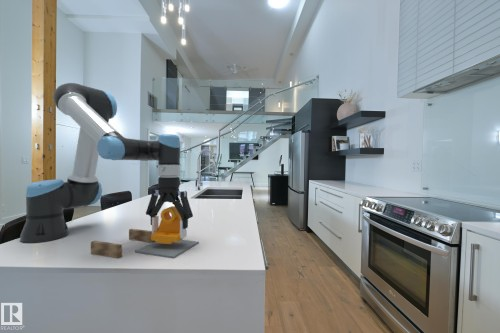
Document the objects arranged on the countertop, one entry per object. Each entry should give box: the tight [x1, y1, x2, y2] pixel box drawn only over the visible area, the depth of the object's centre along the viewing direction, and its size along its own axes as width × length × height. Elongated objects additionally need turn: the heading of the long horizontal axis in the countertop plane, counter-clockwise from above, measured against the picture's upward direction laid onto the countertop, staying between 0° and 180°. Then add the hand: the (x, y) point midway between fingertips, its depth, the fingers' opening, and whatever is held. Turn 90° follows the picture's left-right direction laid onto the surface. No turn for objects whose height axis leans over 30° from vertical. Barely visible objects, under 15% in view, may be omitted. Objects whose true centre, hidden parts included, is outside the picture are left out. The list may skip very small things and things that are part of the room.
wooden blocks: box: [90, 228, 155, 259], centre depth 89 cm, size 12×18×4 cm, turn 162°
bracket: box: [151, 205, 187, 244], centre depth 89 cm, size 11×7×12 cm, turn 82°
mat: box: [134, 239, 200, 259], centre depth 89 cm, size 16×16×1 cm
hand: (168, 235), depth 89 cm, fingers closed on bracket, 11 cm apart
